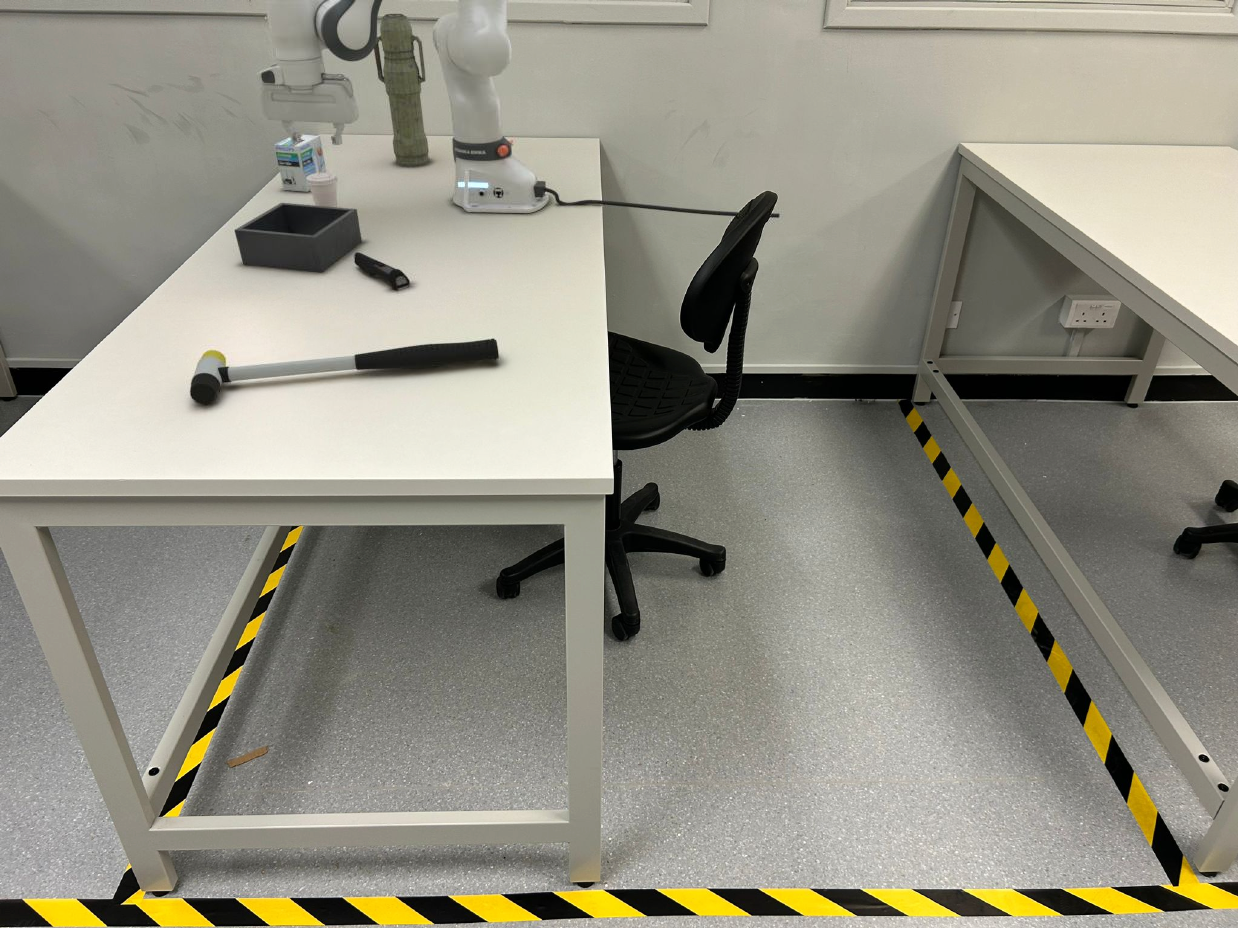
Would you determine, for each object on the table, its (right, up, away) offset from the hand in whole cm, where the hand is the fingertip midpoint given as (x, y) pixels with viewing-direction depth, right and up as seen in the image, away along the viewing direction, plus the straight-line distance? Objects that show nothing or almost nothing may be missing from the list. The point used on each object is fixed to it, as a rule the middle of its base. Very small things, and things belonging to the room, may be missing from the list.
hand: (317, 143), depth 181 cm
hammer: (+22, -54, -48) cm, 75 cm away
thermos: (+9, +12, +47) cm, 50 cm away
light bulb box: (-13, +1, +30) cm, 33 cm away
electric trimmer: (+18, -32, -17) cm, 40 cm away
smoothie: (-1, -14, +9) cm, 17 cm away
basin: (0, -25, -7) cm, 26 cm away
